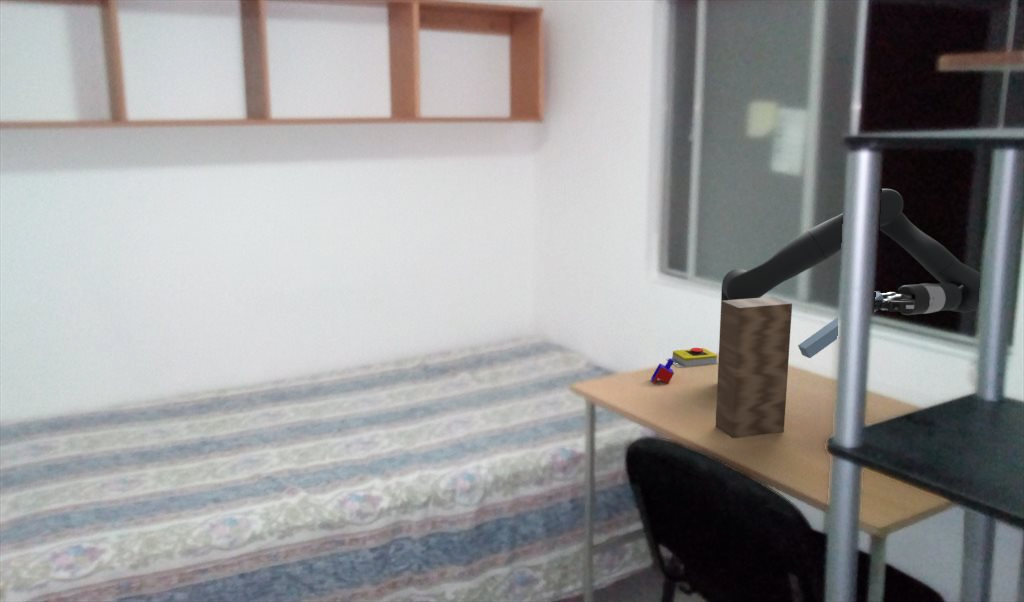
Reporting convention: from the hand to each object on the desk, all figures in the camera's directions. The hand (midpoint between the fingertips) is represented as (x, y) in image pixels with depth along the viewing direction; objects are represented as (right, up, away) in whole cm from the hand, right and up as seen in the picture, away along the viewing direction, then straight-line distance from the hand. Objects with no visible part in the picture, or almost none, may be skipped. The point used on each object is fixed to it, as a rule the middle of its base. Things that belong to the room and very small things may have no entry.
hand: (862, 304), depth 198 cm
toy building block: (-43, -23, +36) cm, 60 cm away
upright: (-28, -31, -1) cm, 42 cm away
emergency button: (-29, -19, +55) cm, 65 cm away
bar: (-4, -6, 0) cm, 8 cm away
